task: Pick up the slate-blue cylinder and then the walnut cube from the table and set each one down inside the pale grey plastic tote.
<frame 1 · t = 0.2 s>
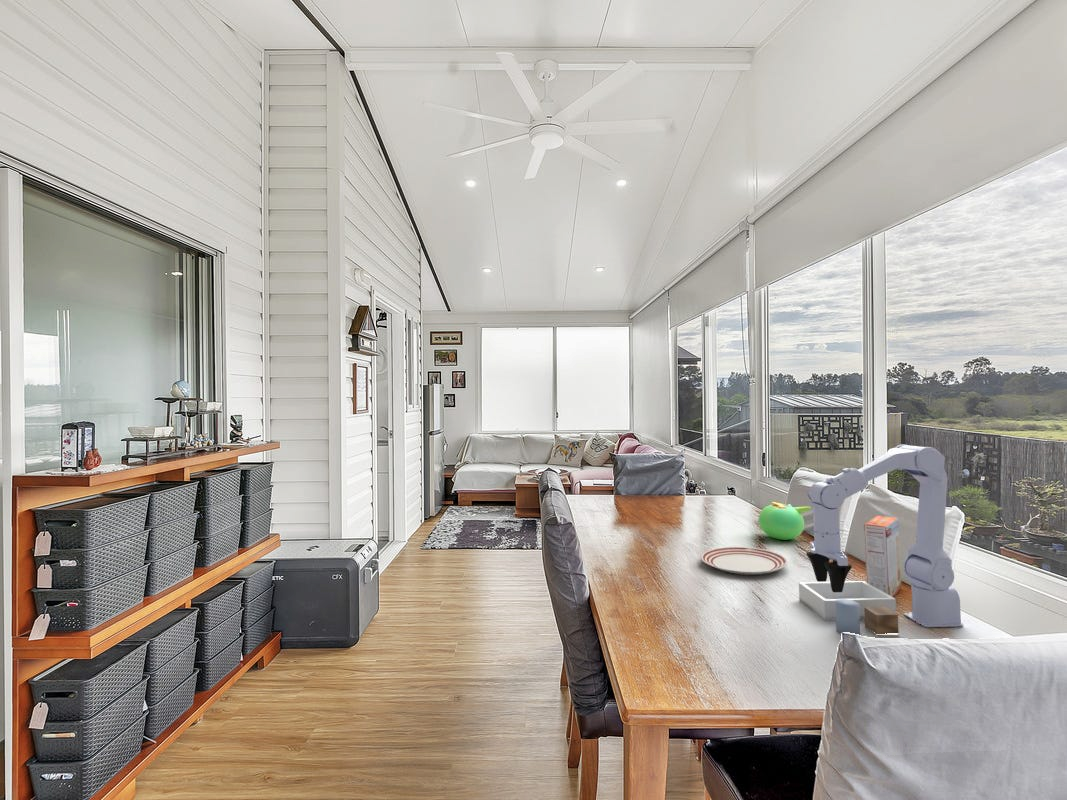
hand: (829, 586, 135), 10 cm above the table, tool pointing down, fingers open, 7 cm apart
cracker box: (884, 593, 156), on the table
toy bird: (782, 539, 218), on the table
blue cylinder: (848, 631, 132), on the table
walnut cube: (881, 631, 132), on the table
tote: (845, 608, 146), on the table
dinner plate: (743, 567, 185), on the table
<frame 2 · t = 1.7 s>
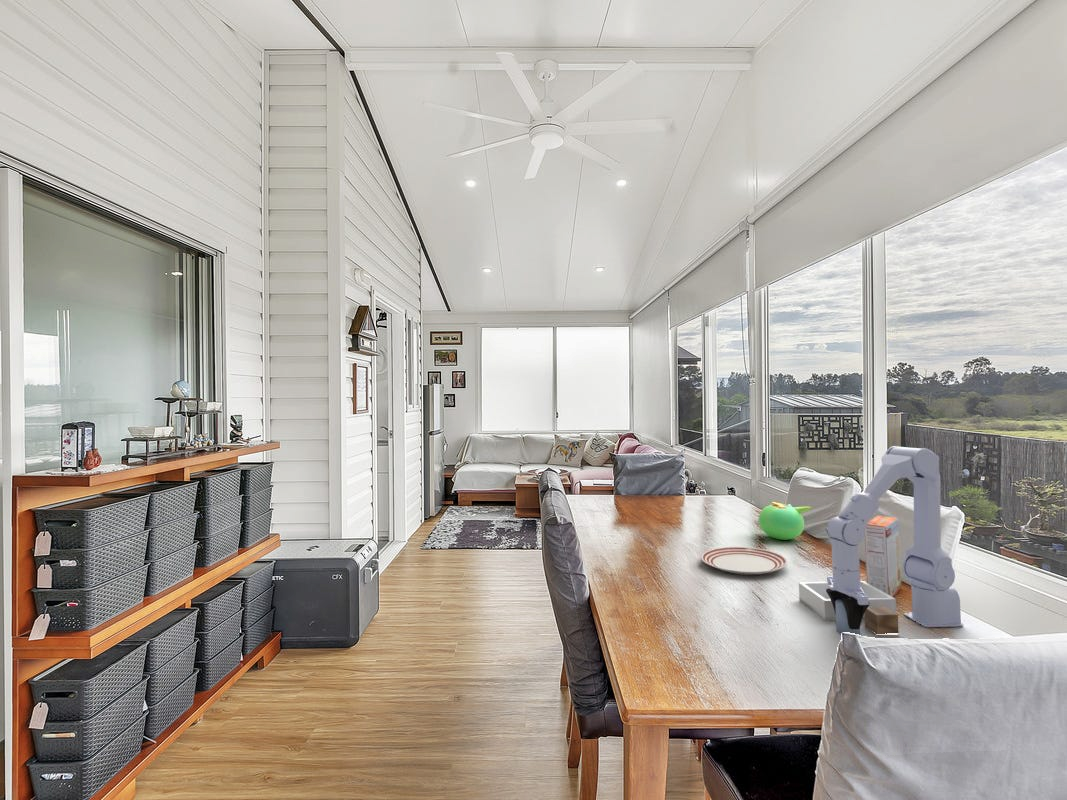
hand: (847, 623, 132), 2 cm above the table, tool pointing down, fingers closed on blue cylinder, 5 cm apart
blue cylinder: (848, 631, 132), on the table, touching gripper
everything else where it was.
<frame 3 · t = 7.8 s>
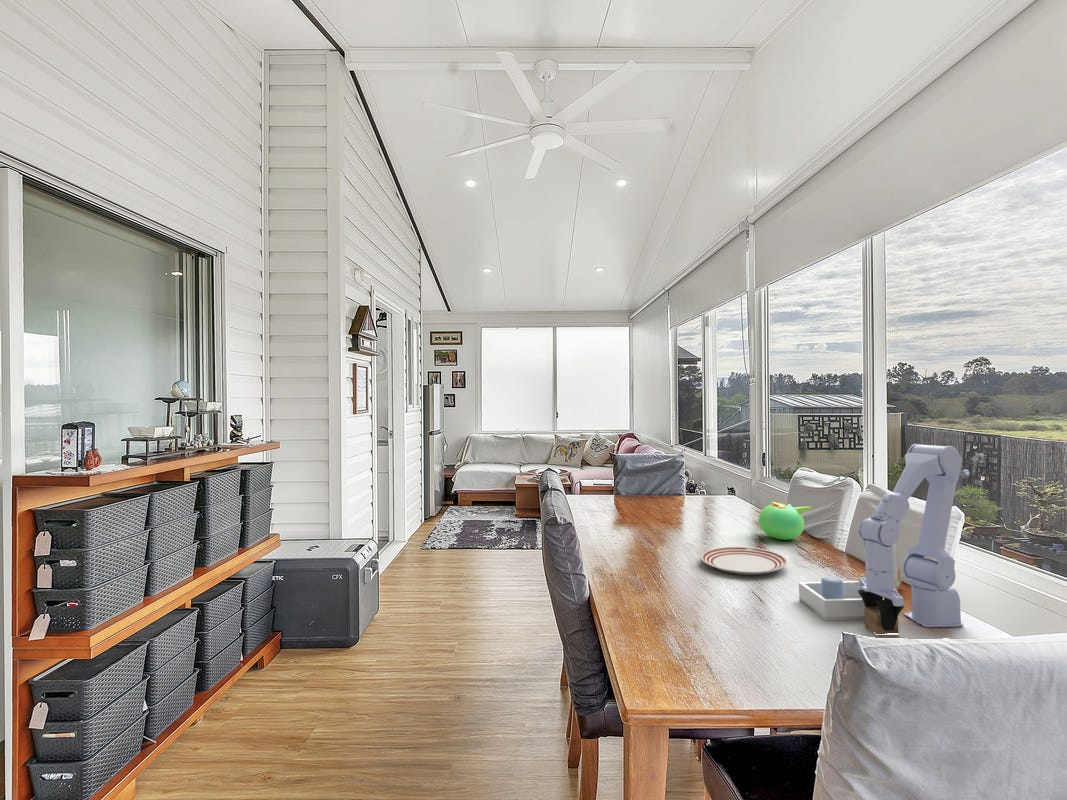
hand: (881, 625, 132), 1 cm above the table, tool pointing down, fingers closed on walnut cube, 5 cm apart
blue cylinder: (832, 606, 146), point 1 cm above the table, touching tote
walnut cube: (881, 631, 132), on the table, touching gripper
everything else where it was.
when the fingers open (5 cm above the table, at t = 11.2 s): walnut cube drops 2 cm, resting on tote.
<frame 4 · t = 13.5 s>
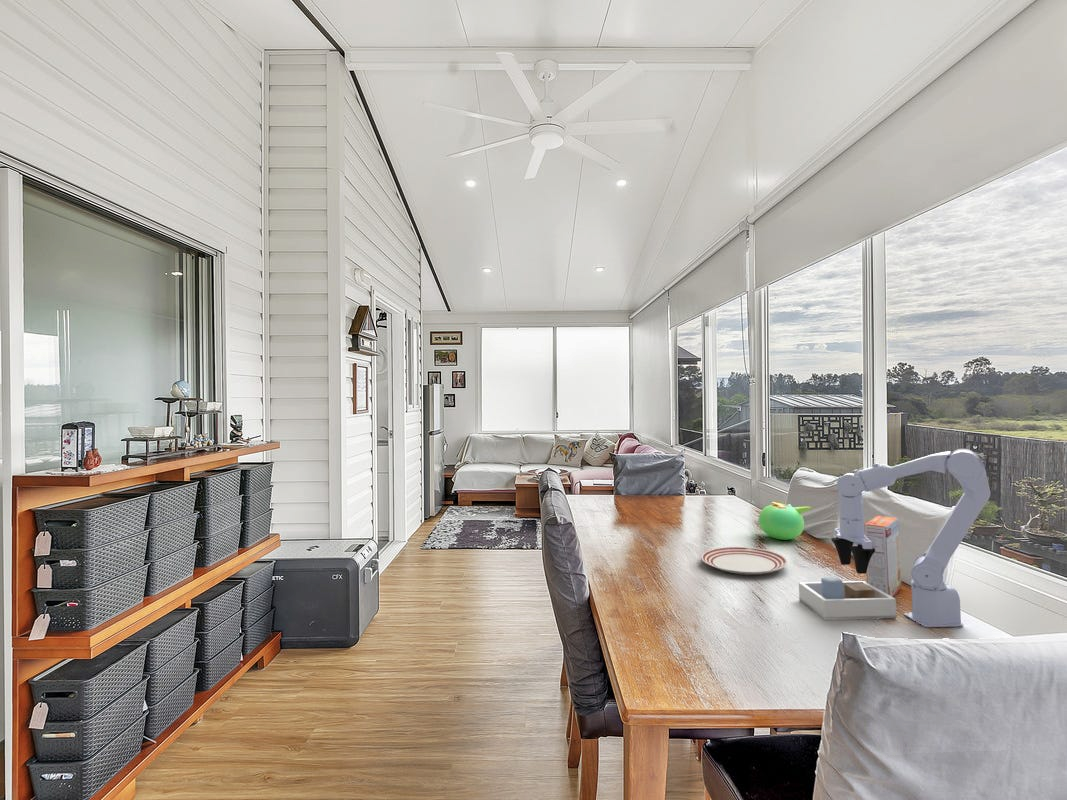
hand: (853, 568, 146), 10 cm above the table, tool pointing down, fingers open, 7 cm apart
walnut cube: (859, 605, 145), point 1 cm above the table, touching tote
everything else where it was.
at the end: blue cylinder inside the target area on the tote (3.4 cm from its centre), point 0.8 cm above the tote's base; walnut cube inside the target area on the tote (3.8 cm from its centre), point 0.8 cm above the tote's base; the gripper is holding nothing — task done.
